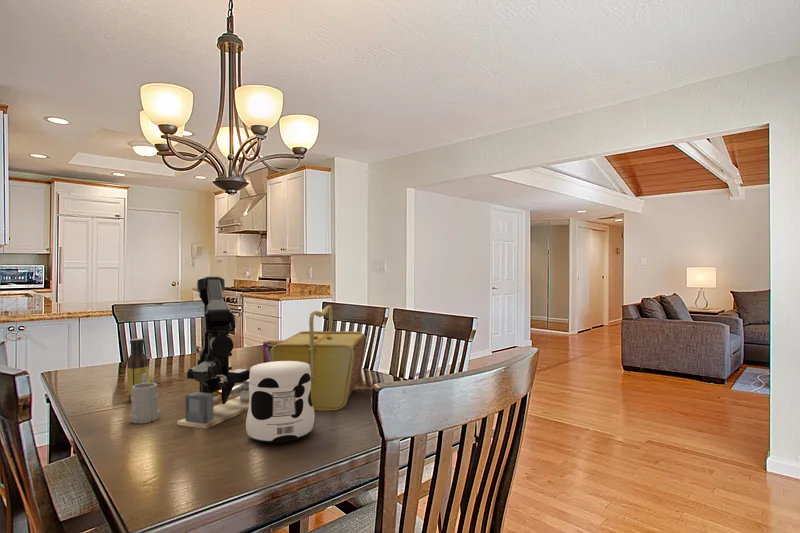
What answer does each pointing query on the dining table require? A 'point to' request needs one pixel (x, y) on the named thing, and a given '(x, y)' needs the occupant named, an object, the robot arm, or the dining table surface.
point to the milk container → (279, 402)
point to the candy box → (268, 349)
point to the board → (220, 413)
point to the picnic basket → (326, 361)
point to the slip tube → (236, 389)
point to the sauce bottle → (136, 364)
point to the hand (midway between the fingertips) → (218, 403)
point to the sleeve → (244, 393)
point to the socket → (199, 407)
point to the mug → (144, 402)
